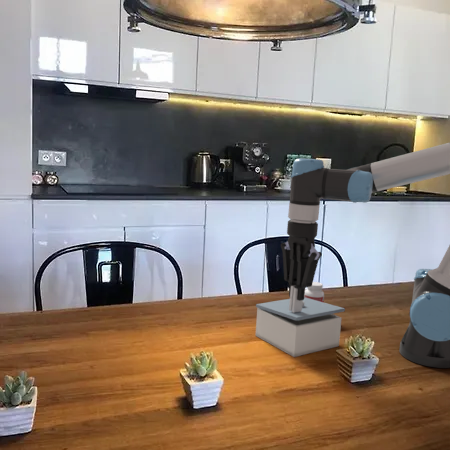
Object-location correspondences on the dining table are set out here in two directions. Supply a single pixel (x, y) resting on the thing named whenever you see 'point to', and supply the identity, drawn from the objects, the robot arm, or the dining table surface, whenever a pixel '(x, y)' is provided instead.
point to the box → (298, 332)
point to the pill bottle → (315, 292)
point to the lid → (308, 309)
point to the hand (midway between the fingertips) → (295, 310)
